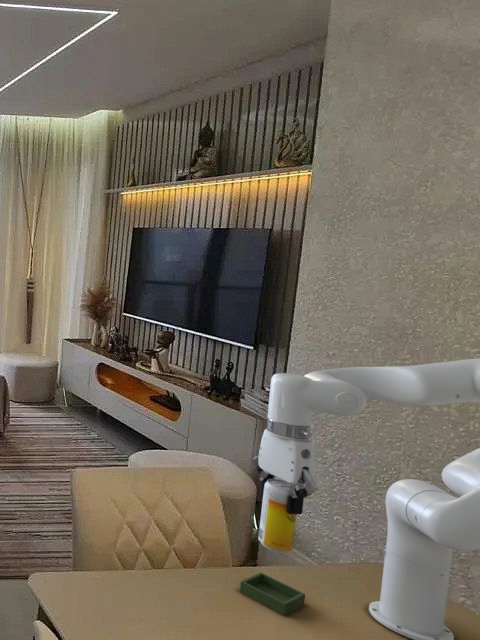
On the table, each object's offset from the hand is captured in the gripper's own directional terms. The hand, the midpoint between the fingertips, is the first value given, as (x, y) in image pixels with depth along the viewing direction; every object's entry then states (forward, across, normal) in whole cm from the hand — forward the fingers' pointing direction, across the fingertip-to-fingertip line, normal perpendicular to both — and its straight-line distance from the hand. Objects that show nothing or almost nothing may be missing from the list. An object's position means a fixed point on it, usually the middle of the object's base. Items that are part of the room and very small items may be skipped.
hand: (280, 505), depth 122 cm
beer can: (+10, 0, 0) cm, 10 cm away
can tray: (+22, 0, 0) cm, 22 cm away
